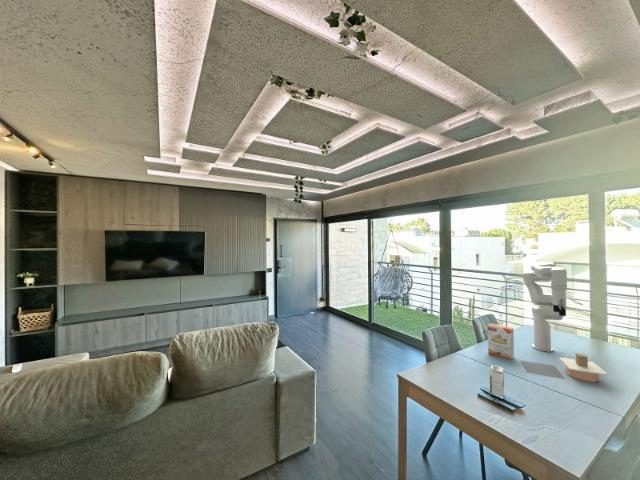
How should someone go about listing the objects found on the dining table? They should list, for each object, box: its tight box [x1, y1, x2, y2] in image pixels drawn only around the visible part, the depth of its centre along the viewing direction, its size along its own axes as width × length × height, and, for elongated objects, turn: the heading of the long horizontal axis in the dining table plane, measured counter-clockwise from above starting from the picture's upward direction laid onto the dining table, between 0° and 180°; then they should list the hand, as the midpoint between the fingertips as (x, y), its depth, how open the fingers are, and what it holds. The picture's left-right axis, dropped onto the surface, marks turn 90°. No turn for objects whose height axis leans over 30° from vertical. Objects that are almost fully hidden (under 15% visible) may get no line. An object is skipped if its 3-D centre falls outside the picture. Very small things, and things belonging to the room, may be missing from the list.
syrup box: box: [489, 364, 505, 398], centre depth 136 cm, size 6×6×14 cm
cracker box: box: [487, 323, 515, 360], centre depth 182 cm, size 14×6×21 cm, turn 37°
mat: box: [519, 359, 566, 380], centre depth 162 cm, size 18×18×1 cm
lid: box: [558, 352, 609, 377], centre depth 153 cm, size 16×16×7 cm
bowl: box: [565, 365, 600, 383], centre depth 153 cm, size 13×13×6 cm
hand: (559, 313), depth 168 cm, fingers open, 9 cm apart
